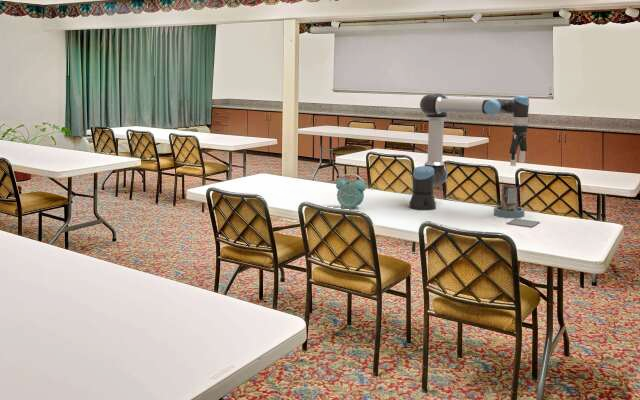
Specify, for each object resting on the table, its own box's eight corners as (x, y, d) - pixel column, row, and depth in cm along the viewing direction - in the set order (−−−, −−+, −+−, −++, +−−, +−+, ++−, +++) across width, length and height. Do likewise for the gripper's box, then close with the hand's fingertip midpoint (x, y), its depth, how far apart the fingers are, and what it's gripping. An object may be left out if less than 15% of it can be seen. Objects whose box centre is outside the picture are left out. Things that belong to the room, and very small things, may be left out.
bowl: (489, 215, 337) (490, 209, 337) (500, 210, 350) (500, 204, 349) (518, 219, 328) (518, 213, 328) (527, 214, 341) (527, 208, 340)
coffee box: (517, 216, 335) (519, 187, 332) (506, 216, 334) (508, 187, 331) (511, 213, 344) (513, 184, 341) (499, 213, 343) (501, 184, 340)
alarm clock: (333, 208, 355) (333, 173, 351) (339, 205, 364) (339, 171, 360) (361, 210, 349) (362, 175, 345) (367, 207, 357) (367, 173, 353)
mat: (506, 224, 318) (506, 222, 318) (515, 219, 329) (515, 218, 329) (531, 227, 311) (531, 226, 311) (539, 222, 321) (539, 221, 321)
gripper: (519, 126, 318) (516, 167, 322) (534, 123, 337) (531, 162, 342) (504, 126, 322) (502, 166, 326) (521, 123, 342) (518, 161, 346)
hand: (517, 164), depth 334 cm, fingers open, 13 cm apart
